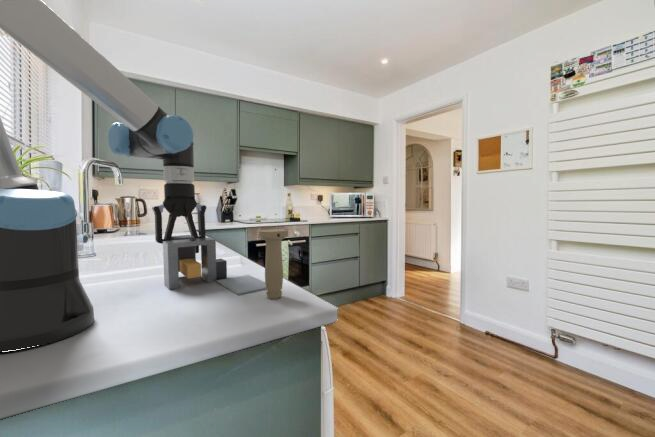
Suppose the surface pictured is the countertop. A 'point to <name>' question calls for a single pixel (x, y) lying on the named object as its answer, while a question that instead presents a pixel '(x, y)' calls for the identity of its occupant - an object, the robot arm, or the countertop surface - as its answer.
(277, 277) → the handle
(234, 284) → the mat
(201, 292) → the countertop surface
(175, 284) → the housing
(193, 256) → the grey and tan block
